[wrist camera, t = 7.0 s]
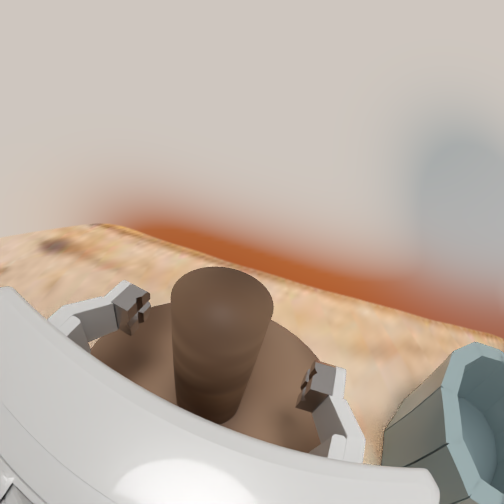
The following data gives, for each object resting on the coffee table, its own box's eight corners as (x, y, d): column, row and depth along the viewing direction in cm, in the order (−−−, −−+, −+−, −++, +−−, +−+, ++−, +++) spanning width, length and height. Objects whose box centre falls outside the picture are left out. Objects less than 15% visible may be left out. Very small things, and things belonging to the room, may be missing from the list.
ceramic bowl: (365, 545, 7) (440, 535, 3) (385, 376, 18) (428, 325, 15) (495, 517, 4) (552, 487, 1) (487, 397, 16) (526, 358, 13)
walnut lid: (40, 455, 8) (-62, 368, 3) (142, 289, 21) (137, 184, 17) (323, 541, 7) (449, 529, 2) (331, 339, 21) (380, 243, 16)
